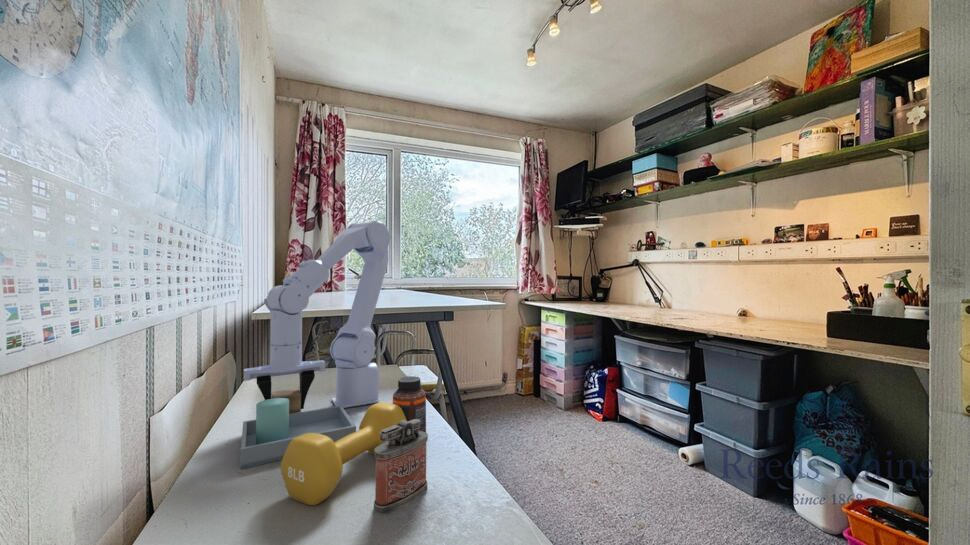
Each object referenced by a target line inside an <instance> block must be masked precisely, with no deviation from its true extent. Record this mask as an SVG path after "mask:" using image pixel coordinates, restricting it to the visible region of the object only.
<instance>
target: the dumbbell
mask: <svg viewBox="0 0 970 545" xmlns="http://www.w3.org/2000/svg"><path fill="white" fill-rule="evenodd" d="M401 420H405V421H407V420H406V417H405V415H404V413H403V411H402V409H401V408H400V406H398V405H396V404H393V402H392V403H391V402H387V401H385V402H384V401H379V402H376V403H373V404H372V405H370V406H369V407H368V408H367V410H366V412H365V413H364V415H363V417H362V419H361V420H360V424H359V426H358V428H359V430H356V432H354V433H352V434H349V435H347V436H345V437H344V438H342V439H340V440H338V441H336V442H333V440H332V439H331V438H329V437H328V436H325V435H322V434H318V433H306V434H303V435H301V436H298V437H296V438H294V439H293V440H292V441H291V442H290V444H289V445H288V447H287V450H286V452H285V454H284V457H283V459H282V460H281V463H280V472H281V476H282V479H283V482H284V484H285V488H286V491H287V493H288V495H289V497H291V498H292V499H294V500H296V501H298V502H300V503H303V504H305V505H308V506H317V505H318V504H320V503H322V502H323V501H325V500H326V499H328V498H329V496H331V495H332V493H333V492H334V490H335V489H336V487H337V485H338V483H339V481H340V479H341V477H342V473H343V469H344V467H343V465H344V464H347V463H348V462H350V461H351V460H353V459H355V458H357V457H358V456H361V455H362V454H364V453H366V452H369V454H373V455H374V449H375V448H376V447H377V446H379V445H381V444H383V443H385V442H383V441H381V440H380V432H381V431H382V430H383V429H386V428H388V427H391V426H394V425H396V426H397V424H398V422H399V421H401ZM386 442H387V441H386Z"/></svg>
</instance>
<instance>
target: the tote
mask: <svg viewBox="0 0 970 545" xmlns="http://www.w3.org/2000/svg"><path fill="white" fill-rule="evenodd" d="M241 431H242V432H241V433H242V434H241V440H240V441H241V444H240V470H242V469H247V468H251V467H256V466H260V465H265V464H269V463H273V462H278V461H282V459H283V457H284V454H285V452H286V450H287V447H288V445H289V444H290V442H291V441H292V440H293V439H294V438H296V437H298V436H301V435H303V434H306V433H318V434H322V435H325V436H328V437H329V438H331V439H332V440H333V442H336V441H338V440H340V439H342V438H344V437H345V436H347V435H349V434H352V433H354V432H356V431H357V426H356V424H355V422H354V421H353V420H352V418H351V417H350V415H349V414H348V413H347V411H346V410H345V408H343V407H342V405H339V406H335V405H334V406H328V407H322V408H317V409H311V410H303V411H301V412H298V413H292V414H289V438H288V439H283V440H278V441H273V442H268V443H263V444H258V445H256V419H250V420H245V421H243V422H242V430H241Z"/></svg>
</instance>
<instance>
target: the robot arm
mask: <svg viewBox="0 0 970 545" xmlns="http://www.w3.org/2000/svg"><path fill="white" fill-rule="evenodd" d="M391 237H392V235H391V234H390V232H389V229H388V227H387V225H386V224H385V223H384V222H383V221H381V220H372V221H369V222H368V221H367V222H360V223H357V222H356V223H354V222H353V223H351V224H350V225H348V226H347V228H345V229H343V230H341V233H340V235H339V236H338V237H337V238H336V239H335V240H334V241H333V243H331V244H330V245H329V246H328V247H327V249H325V250H324V252H322V254H321V255H319V257H318V258H317V259H308V260H303V261H301V262H300V263H299V264H298V266H299V268H298V269H297V270H295V271H294V272H293V273H292V274H291V275H290V276H289V277H284V279H282V282H283V283H282V285H280V284H279V285H275V286H274V287H272V288H271V289H270V290H269V291H268V293H267V295H266V298H265V299H264V300H263V301H264V305H265V307H266V309H267V310H269V314H270V329H269V331H270V333H269V334H270V335H269V337H270V342H269V344H270V345H269V346H270V348H269V352H270V353H269V354H270V355H269V356H270V357H269V359H270V360H269V364H267V365H261V366H256V367H250V368H244V369H243V382H244V381H245V382H246V381H251V380H256V384H257V387H258V389H259V391H260V393H261V394H262V397H263V400H268V399H271V394H272V377H278V376H279V377H280V376H288V375H295V374H299V391H300V393H301V410H304V409H305V408H304V406H305V403H306V400H307V399H306V398H307V396H308V393H309V390H310V387H311V385H312V384H313V382H314V380H315V376H316V374H315V372H325V371H326V361H325V360H322V359H321V360H309V361H307V360H305V361H303V310H305V309H306V308H307V307H308V305H309V300H310V297H311V296H312V295H313V294H314V293H315V292H316V291H317V290H318V289H319V288H320V287H321V286H322V285H323V284H324V283H325V282H326V281H327V280H329V277H330V270H331V269H332V268H333V267H334V266H335V265H337V264H338V263H339V262H340V261H341V260H342V259H344V257H346V255H348V254H349V253H350V252H351V251H352V250H354V251H355V253H357V254H358V255H359V257H360V258H362V261H363V262H364V264H363V267H362V268H363V269H362V272H361V276H360V277H359V282H358V286H357V288H356V292H355V295H354V299H353V303H352V305H351V309H350V312H349V316H348V320H347V322H346V323H345V324H344V325H342V326H341V327H340V328H339V329H338V330H337V331H338V332H337V335H336V337H335V338H333V340H332V342H331V344H330V347H329V353H330V356H331V358H332V359H333V360H334V364H335V365H336V366H335V397H332V398H331V402H332V404H334V406H339V405H342V407H343V408H344V409H347V408H351V407H358V406H363V405H370V404H376V403H379V402H380V399H379V378H380V377H379V367H378V365H377V363H376V362H371V361H372V360H373V358H374V356H375V353H376V347H375V345H376V344H375V340H376V336H377V335H376V334H375V332H374V331H373V329H372V327H371V326H372V321H373V318H374V316H375V315H374V314H375V311H376V308H377V304H378V301H379V296H380V293H381V290H382V285H383V282H384V278H385V275H386V271H387V267H388V263H389V246H390V241H391Z"/></svg>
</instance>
